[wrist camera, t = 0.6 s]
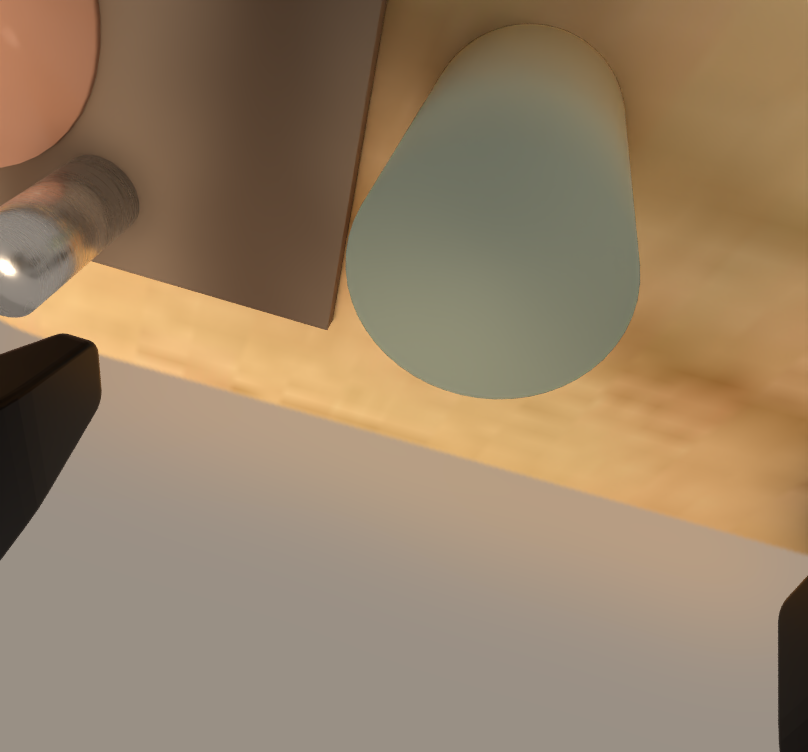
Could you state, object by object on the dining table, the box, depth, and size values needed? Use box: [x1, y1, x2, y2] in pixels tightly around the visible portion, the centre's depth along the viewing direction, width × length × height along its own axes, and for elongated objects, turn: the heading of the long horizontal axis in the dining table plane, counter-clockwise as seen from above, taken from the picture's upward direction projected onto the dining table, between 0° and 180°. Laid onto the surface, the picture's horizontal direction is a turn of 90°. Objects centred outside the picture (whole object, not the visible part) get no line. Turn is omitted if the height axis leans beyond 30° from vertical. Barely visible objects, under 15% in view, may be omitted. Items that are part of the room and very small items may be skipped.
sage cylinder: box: [346, 24, 640, 399], centre depth 16 cm, size 5×5×8 cm
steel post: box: [0, 155, 139, 317], centre depth 17 cm, size 2×14×5 cm, turn 137°
